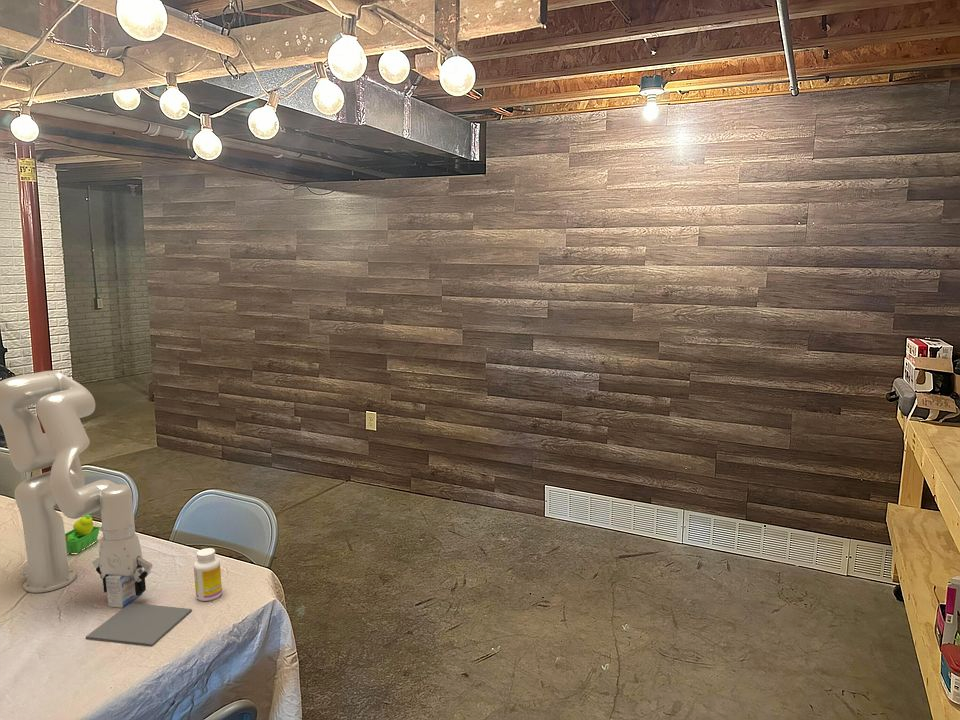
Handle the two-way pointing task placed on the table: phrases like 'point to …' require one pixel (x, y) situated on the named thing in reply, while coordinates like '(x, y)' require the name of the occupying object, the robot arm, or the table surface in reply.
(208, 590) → the supplement bottle
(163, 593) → the table surface
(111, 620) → the mat
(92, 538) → the fruit basket
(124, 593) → the medicine box
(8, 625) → the table surface
